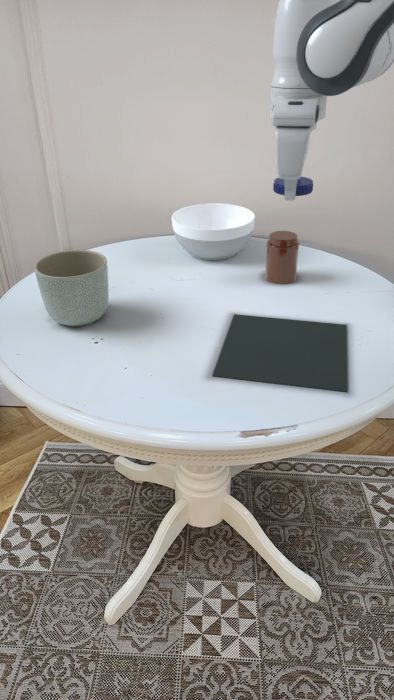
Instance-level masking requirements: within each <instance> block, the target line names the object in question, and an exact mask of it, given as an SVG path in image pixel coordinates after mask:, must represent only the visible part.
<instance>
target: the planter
mask: <svg viewBox="0 0 394 700" xmlns="http://www.w3.org/2000/svg"><path fill="white" fill-rule="evenodd" d="M108 269H109V268H108V260H107V257H106V256H105V255H104V254H103V253H101V252H99V251H98V252H97V251H94V250H88V249H69V250H62V251H58V252H57V251H56V252H54V253H50V254H48V255H46V256H43V257H42V258H40V259H39V260H37V261H36V263H35V264H34V273H35V277H36V281H37V286H38V289H39V293H40V296H41V299H42V303H43V305H44V308H45V311H46V313H47V315H48V316H49V317H50V318H51V319H52V320H53V321H54V322H55V323H57V324H59V325H60V324H61V325H62V326H67V327H75V328H76V327H83V326H87V325H90V324H93V323H94V322H96V321H98V320H100V318H101V317H103V316H104V315H105V313H106V312H107V310H108V306H109V296H110V295H109V291H110V290H109V270H108Z"/></svg>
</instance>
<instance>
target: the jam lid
mask: <svg viewBox="0 0 394 700" xmlns="http://www.w3.org/2000/svg"><path fill="white" fill-rule="evenodd" d="M272 190H273V192H274V193H275V194H276V195H280V196H284V195H285V187H284V179H280V178H278V177H277V178H274V180H273V187H272ZM313 190H314V180H313V179H312V178H309V177H307V176H301V177H300V179H297V186H296V197H302V196H307V195H310V194H312V193H313Z"/></svg>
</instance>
